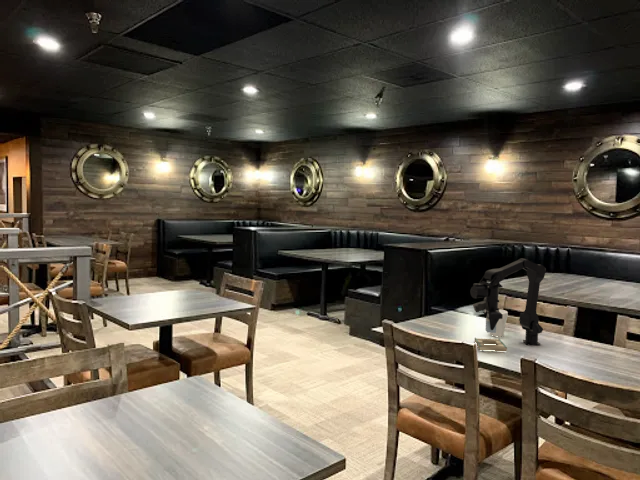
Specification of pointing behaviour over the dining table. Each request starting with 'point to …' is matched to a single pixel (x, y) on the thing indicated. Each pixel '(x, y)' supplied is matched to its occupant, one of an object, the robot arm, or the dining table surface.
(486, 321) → the grey and beige block
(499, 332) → the foam cup
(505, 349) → the well
